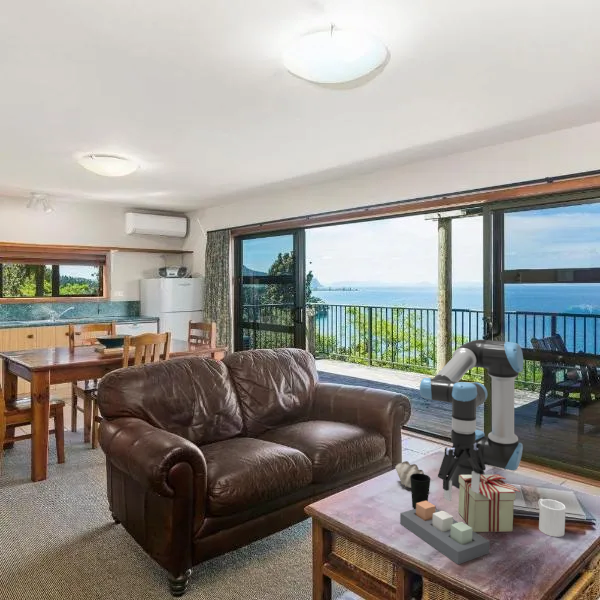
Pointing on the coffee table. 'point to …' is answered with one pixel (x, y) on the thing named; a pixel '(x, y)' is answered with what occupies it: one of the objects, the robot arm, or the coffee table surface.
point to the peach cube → (425, 510)
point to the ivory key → (442, 521)
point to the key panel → (444, 538)
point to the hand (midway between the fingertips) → (461, 495)
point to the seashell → (407, 472)
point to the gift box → (487, 503)
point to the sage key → (461, 533)
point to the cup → (419, 488)
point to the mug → (551, 517)
